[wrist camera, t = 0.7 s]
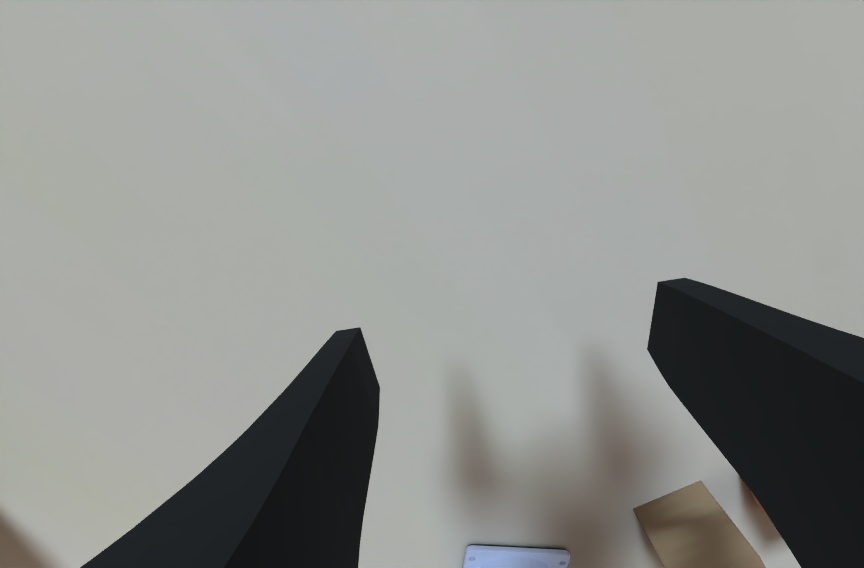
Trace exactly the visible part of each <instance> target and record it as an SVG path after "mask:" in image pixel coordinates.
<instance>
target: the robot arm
mask: <svg viewBox="0 0 864 568" xmlns="http://www.w3.org/2000/svg"><path fill="white" fill-rule="evenodd" d="M647 350H648V351H649V353H650V355H651V357H652V359H653V360H654V362H655V364H656V366H657V367H658V369H659V371H660V372H661V374H662V376H663V377H664V379H665V380H666V382H667V384H668V385H669V387H670V388H671V389H672V391H673V392H674V393H675V395H676V396H677V397H678V398H679V400H680V401H681V402H682V404H683V405H684V406H685V407H686V409H687V410H688V411H689V412H690V414H691V415H692V416H693V418H694V419H695V420H696V421H697V423H698V424H699V425H700V426H701V428H702V429H703V430H704V431H705V433H706V434H707V435H708V436H709V438H710V439H711V440H712V441H713V443H714V444H715V445H716V446H717V448H718V449H719V450H720V451H721V453H722V454H723V455H724V456H725V458H726V459H727V460H728V461H729V463H730V464H731V465H732V466H733V468H734V469H735V470H736V471H737V473H738V474H739V475H740V477H741V478H742V479H743V481H744V482H745V483H746V485H747V486H748V487H749V489H750V490H751V492H752V493H753V494H754V496H755V497H756V499H757V500H758V502H759V503H760V505H761V506H762V508H763V509H764V511H765V512H766V514H767V515H768V517H769V518H770V520H771V521H772V523H773V524H774V526H775V527H776V529H777V530H778V532H779V533H780V535H781V536H782V538H783V539H784V541H785V542H786V544H787V545H788V547H789V549H790V550H791V552H792V553H793V555H794V557H795V558H796V560H797V561H798V563H799V565H800V566H801V568H864V338H862V337H859V336H855V335H852V334H849V333H846V332H843V331H840V330H837V329H834V328H831V327H828V326H825V325H822V324H819V323H816V322H813V321H810V320H807V319H804V318H801V317H798V316H795V315H793V314H790V313H787V312H784V311H781V310H778V309H776V308H773V307H770V306H767V305H764V304H762V303H759V302H756V301H753V300H750V299H748V298H745V297H742V296H739V295H736V294H734V293H731V292H728V291H725V290H722V289H719V288H716V287H713V286H710V285H707V284H704V283H701V282H698V281H694V280H691V279H687V278H681V279H674V280H668V281H661V282H658V284H657V291H656V297H655V303H654V310H653V316H652V322H651V329H650V335H649V341H648V348H647ZM379 394H380V387H379V384H378V381H377V378H376V374H375V371H374V368H373V365H372V362H371V359H370V356H369V353H368V350H367V347H366V344H365V341H364V338H363V335H362V331H361V328H353V329H347V330H340V331H336V332H335V333H334V334H333V335H332V336H331V337H330V339H329V340H328V341H327V342H326V343H325V344H324V345H323V347H322V348H321V349H320V350H319V351H318V352H317V354H316V355H315V356H314V357H313V358H312V359H311V361H310V362H309V363H308V364H307V365H306V366H305V368H304V369H303V370H302V371H301V372H300V373H299V374H298V376H297V377H296V378H295V379H294V380H293V381H292V382H291V384H290V385H289V386H288V387H287V388H286V389H285V390H284V391H283V393H282V394H281V395H280V396H279V397H278V398H277V399H276V400H275V401H274V402H273V403H272V404H271V405H270V406H269V407H268V408H267V409H266V410H265V411H264V412H263V413H262V415H261V416H260V417H259V418H258V419H257V420H256V421H255V422H254V423H253V424H252V425H251V426H250V427H249V428H248V429H247V430H246V431H245V432H244V433H243V434H242V435H241V436H240V437H239V438H238V439H237V440H236V441H235V442H234V443H233V444H232V445H231V446H229V447H228V448H227V449H226V450H225V451H224V452H223V453H222V454H221V455H220V456H219V457H217V458H216V459H215V460H214V461H213V462H212V463H211V464H210V465H209V466H207V467H206V468H205V469H204V470H203V471H202V472H201V473H200V474H198V475H197V476H196V477H195V478H194V479H193V480H192V481H190V482H189V483H188V484H187V485H186V486H184V487H183V488H182V489H181V490H179V491H178V492H177V493H176V494H174V495H173V496H172V497H171V498H170V499H168V500H167V501H166V502H165V503H163V504H162V505H161V506H160V507H158V508H157V509H156V510H155V511H154V512H152V513H151V514H150V515H149V516H147V517H146V518H145V519H144V520H142V521H141V522H140V523H139V524H138V525H136V526H135V527H134V528H133V529H131V530H130V531H129V532H127V533H126V534H125V535H123V536H122V537H121V538H119V539H118V540H117V541H116V542H114V543H113V544H112V545H110V546H109V547H108V548H106V549H105V550H104V551H102V552H101V553H100V554H98V555H97V556H96V557H94V558H93V559H92V560H90V561H89V562H87V563H86V564H85V565H83V566H82V567H81V568H358V561H359V548H360V538H361V530H362V522H363V515H364V509H365V503H366V497H367V491H368V485H369V479H370V473H371V467H372V461H373V455H374V449H375V443H376V437H377V430H378V420H379ZM570 558H571V557H570V554H569V552H568V551H566V550H558V549H538V548H518V547H498V546H479V545H470V546H468V547H467V548H466V550H465V556H464V561H463V566H462V568H567V567H568V564H569V561H570Z"/></svg>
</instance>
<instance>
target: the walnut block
mask: <svg viewBox="0 0 864 568" xmlns="http://www.w3.org/2000/svg"><path fill="white" fill-rule="evenodd" d="M634 511H635V513H636V515H637V517H638V519H639V520H640V522H641V524H642V526H643V528H644V530H645V532H646V533H647V535H648V537H649V539H650V541H651V543H652V545H653V546H654V548H655V550H656V552H657V554H658V556H659V557H660V559H661V561H662V563H663V565H664V567H665V568H766V567H765V566H764V564H763V562H762V560H761V558H760V557H759V555H758V554H757V552H756V551H755V550H754V549H753V547H752V546H751V545H750V543H749V542H748V541H747V540H746V538H745V537H744V536H743V534H742V533H741V532H740V531H739V529H738V528H737V527H736V525H735V524H734V523H733V522H732V520H731V519H730V518H729V516H728V515H727V514H726V513H725V511H724V510H723V509H722V507H721V506H720V505H719V504H718V502H717V501H716V500H715V498H714V497H713V496H712V494H711V493H710V492H709V491H708V489H707V488H706V487H705V485H704V484H703V483H702V482H701V480H700V481H698V482H695V483H693V484H691V485H688V486H686V487H684V488H681V489H679V490H677V491H674V492H672V493H669V494H667V495H665V496H662V497H660V498H658V499H655V500H653V501H651V502H648V503H646V504H644V505H641V506H639V507H636V508H634Z"/></svg>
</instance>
